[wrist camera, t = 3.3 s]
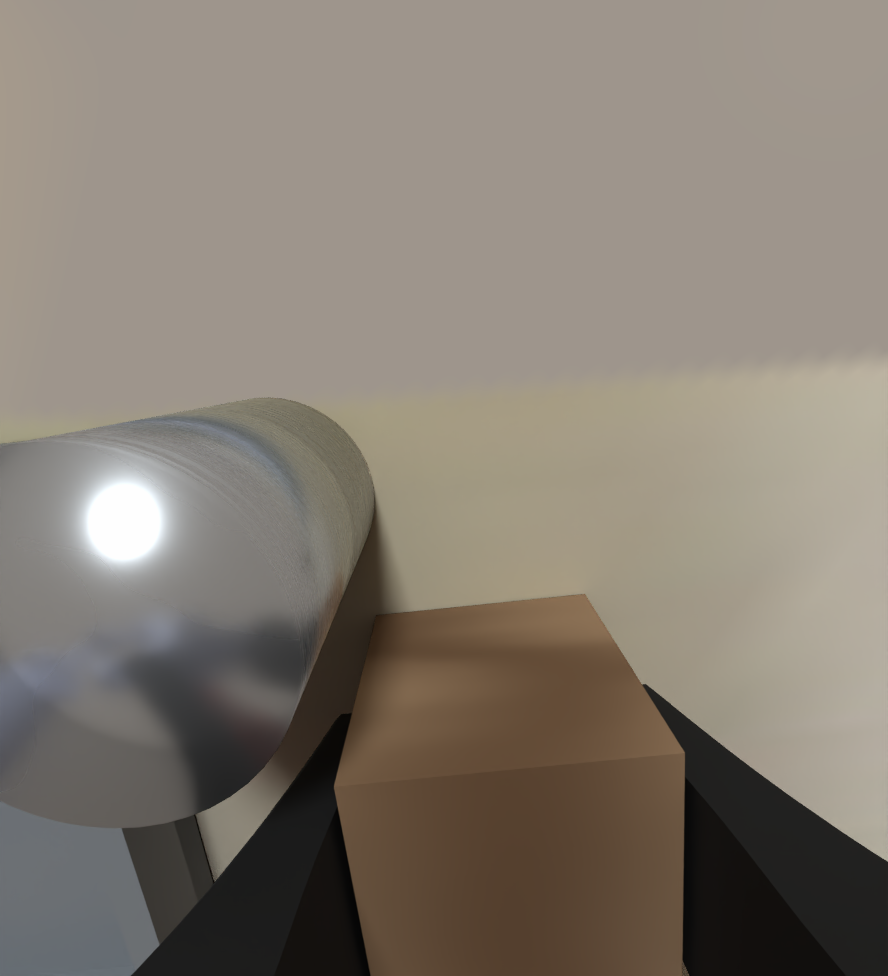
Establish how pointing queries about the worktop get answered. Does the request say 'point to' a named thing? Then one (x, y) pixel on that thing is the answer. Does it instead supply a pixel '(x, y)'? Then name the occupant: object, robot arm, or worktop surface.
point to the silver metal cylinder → (167, 603)
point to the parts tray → (92, 892)
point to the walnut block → (511, 798)
